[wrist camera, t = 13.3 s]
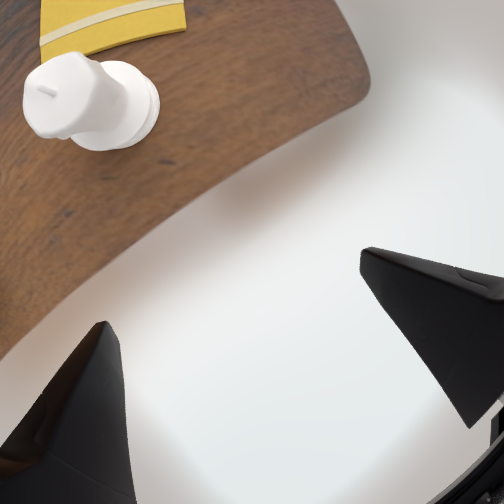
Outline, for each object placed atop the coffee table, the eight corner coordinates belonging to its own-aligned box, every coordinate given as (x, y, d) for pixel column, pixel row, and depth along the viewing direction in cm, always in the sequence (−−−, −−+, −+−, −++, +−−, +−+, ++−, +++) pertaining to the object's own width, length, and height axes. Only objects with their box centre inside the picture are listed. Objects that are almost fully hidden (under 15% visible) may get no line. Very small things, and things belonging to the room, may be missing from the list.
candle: (68, 126, 14) (-45, 147, 4) (113, 58, 13) (47, -18, 3) (130, 162, 17) (77, 227, 6) (176, 95, 16) (191, 50, 5)
